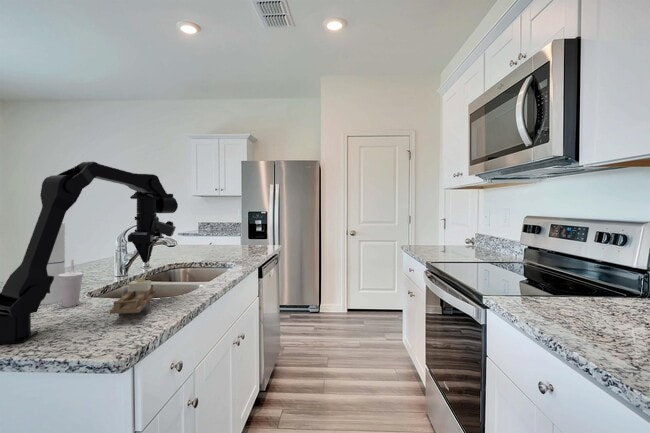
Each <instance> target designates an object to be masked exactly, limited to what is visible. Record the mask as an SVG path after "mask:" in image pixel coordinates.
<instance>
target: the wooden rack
mask: <svg viewBox="0 0 650 433" xmlns="http://www.w3.org/2000/svg"><path fill="white" fill-rule="evenodd" d="M156 295H157V290H154V284H151V288H150V289H149V290H148V291H142V292H141V293H140V294H139V295H138V296H135V291H132V292H129V291H127V292H126V293H125V294H124V295H123V296H122V297H121V298H119V299H118V300H115V301H113V307H112V308H110V309H109V315H115V314H118V317H132V316H133V317H134V316H147V315H148V314H149V313H150V312H151V310H152V307H151V304H152V302H151V301H152V300H153V298H154V297H155V296H156Z"/></svg>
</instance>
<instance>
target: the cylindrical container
mask: <svg viewBox="0 0 650 433" xmlns="http://www.w3.org/2000/svg"><path fill="white" fill-rule="evenodd" d="M65 230H66V222H62V225H61V227H60V230H59V233H58V236H57V239H56V242H55V245H54V247H53V250H52V253H51V256H50V259H49V262H48V265H47V273H48V275H49V276H54V280H53V282H52V284H51V286H50V293H47V294H46V296H45V298H44V299H43V300H42V301H41V303H40V305H52V304H53V305H54V304H57V303H58V302H59V303H61V302H62V303H63V301H62V294H61V288H60V281H59V279H58V275H59V274H63V273H66V271H65V270H66V268H65V267H66V266H65V264H66V258H65V257H66V256H65V255H66V251H65V250H66V249H65V248H66V247H65V246H66V244H65V243H66V241H65V240H66V238H65V236H66V231H65Z"/></svg>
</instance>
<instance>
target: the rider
mask: <svg viewBox="0 0 650 433" xmlns="http://www.w3.org/2000/svg"><path fill="white" fill-rule="evenodd" d="M151 285H152V280H150V279H149V280H146V279H144V278H137V279H136V280H131V281H130V282H129V283H128V292H132V291H135V296H138V295H139V294H140V293H141V292H142V291H148V290H149V289H150V288H151Z"/></svg>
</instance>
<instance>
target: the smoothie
mask: <svg viewBox="0 0 650 433" xmlns="http://www.w3.org/2000/svg"><path fill="white" fill-rule="evenodd" d="M74 262H75V260H74V259H71V262H70V263H71V266H70V267H71V271H70V272H65V273H63V274H59V275H58V279H59V281H60V288H61V294H62V306H64V307H63V308H72V306H73V307H76V305H77V306H79V302H80V301H79V300H80V294H81V288H82V280H83V277H84V273H83V272H81V271H80V272H79V271H76V272H75V271H74V270H75V269H74V267H75V266H74V265H75V263H74Z"/></svg>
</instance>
